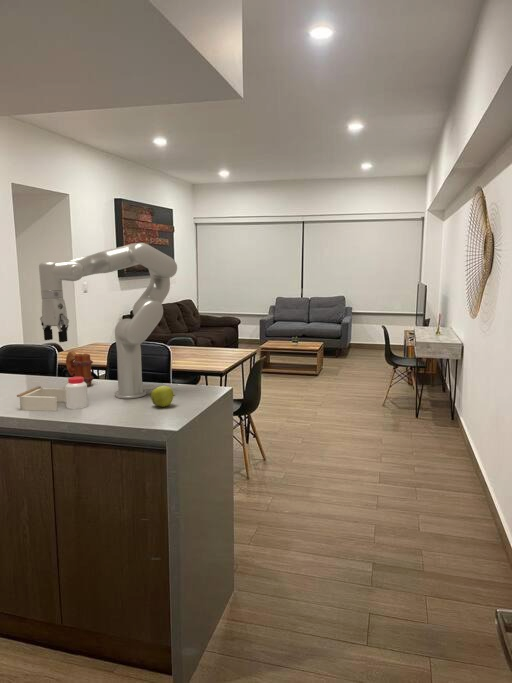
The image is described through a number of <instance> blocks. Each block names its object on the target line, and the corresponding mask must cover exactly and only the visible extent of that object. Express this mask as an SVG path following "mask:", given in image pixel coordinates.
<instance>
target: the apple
mask: <svg viewBox="0 0 512 683" xmlns="http://www.w3.org/2000/svg"><path fill="white" fill-rule="evenodd" d="M175 396H176V394H175V393H174V390H173V389H172V388H171V387H170V386H167V385H160V386H158V387H156V388H153V390H151V392H150V398H151V402H152V403H153V405H155V406H157V407H161V408H166V407H168V406H170V405H171V404H172V402H173V400H174V397H175ZM165 406H166V407H165Z"/></svg>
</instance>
